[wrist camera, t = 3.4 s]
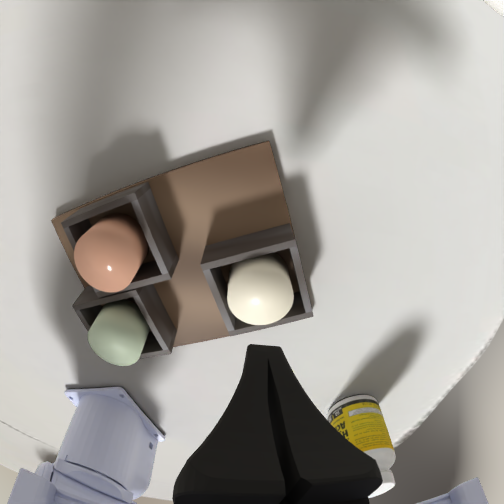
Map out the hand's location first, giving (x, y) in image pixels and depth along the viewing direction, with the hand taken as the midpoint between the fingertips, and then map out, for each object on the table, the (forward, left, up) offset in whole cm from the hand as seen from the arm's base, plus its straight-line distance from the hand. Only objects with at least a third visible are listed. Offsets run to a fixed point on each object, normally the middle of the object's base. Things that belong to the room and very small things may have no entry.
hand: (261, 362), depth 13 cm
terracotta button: (+5, +7, -6) cm, 11 cm away
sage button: (0, +9, -7) cm, 11 cm away
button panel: (+2, +5, -8) cm, 10 cm away
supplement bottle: (-18, -5, -9) cm, 21 cm away
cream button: (0, 0, -7) cm, 7 cm away
